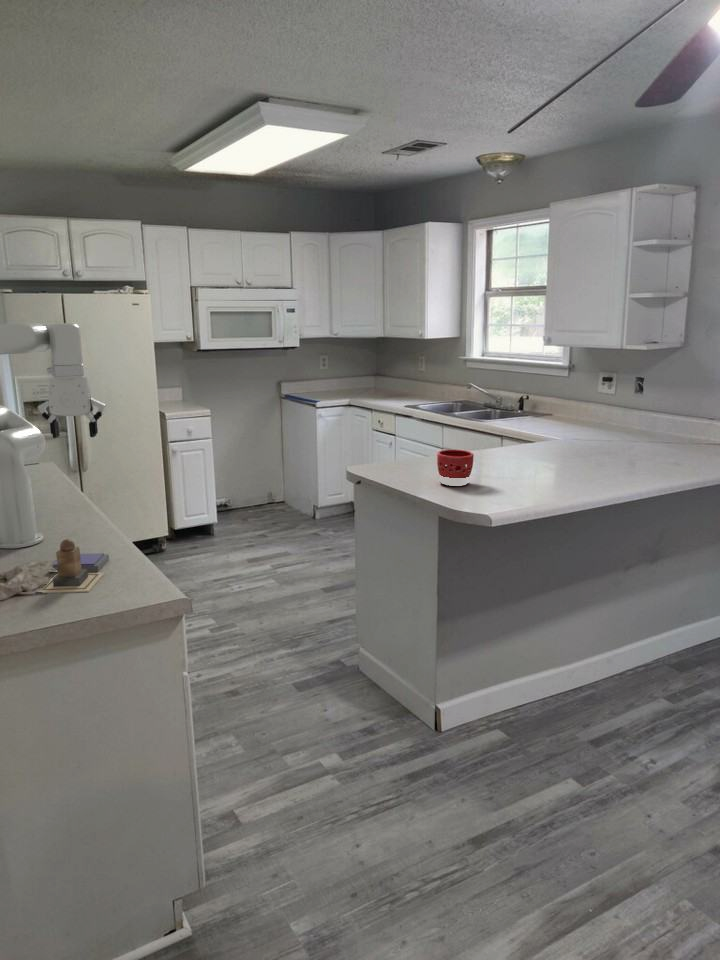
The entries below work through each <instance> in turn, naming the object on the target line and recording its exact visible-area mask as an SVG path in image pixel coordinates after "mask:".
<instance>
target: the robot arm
mask: <svg viewBox="0 0 720 960" xmlns="http://www.w3.org/2000/svg"><path fill="white" fill-rule="evenodd" d="M80 329H81V328H80V327H79V325H78V324H76V323H70V322H67V323H66V322H63V323H61V322H59V323H52V322H51V323H49V322H17V323H15V322H14V323H3V324H0V355H17V354H18V355H19V354H20V355H21V354H22V355H23V354H33V353H47V352H50V358H51V366H50V367H47V369H46V370H47V373H49V374H51V375H52V377H50V378H49V382H48V383H49V384H48V386H49V387H48V388H49V389H48V400H46V401H44V402H43V403H41V404H39V405H38V406H37V410H38V411H39V412H40V413H41V416H42V417H43V418H44V419H45V420H46V421H47V423H49V428H50V434H51V435H52V438H53V439H56V438H58V437H60V434H61V432H60V426H59V421H57V420H58V418H59V417H80V416H81V417H82V416H83V417H84V416H85V417H86V418H87V419H88V420H89V422H88V429H89V430H88V431H89V437H90V438H94V437H96V436H97V434H98V432H99V431H98V421H99V419H100V418H101V417H102V415H103V414H104V411H105V410H106V408H107V405H106V404H105V403H103V402H101V401H99V400H97V399H95V398H93V395H92V390H91V387H90V386H91V385H90V383H89V380H88V376H86V375H85V369H84V359H83V347H82V338H81V330H80ZM94 406H95V407H97V408H98V410H97V412H96V413H94ZM47 408H49V409H48V410H49V412H48V410H47ZM46 444H47V442H46V438H45V435H44V434H43V433H42V431H41V430H40V429H39V428H38V427H36V426H35V425H34V424H32V423H31V422H29V421H28V420H27V419H25V418H24V417H22V416H21V415H19V414H18V413H16V411H14V410H12V409H10V408H9V407H7V406H5V405H2V404H0V549H7V550H9V549H19V548H26V547H30V546H34V545H37V544H39V543H41V542H42V541H43V540H44V535H43V533H40V532H37V524H36V514H35V506H34V498H33V497H34V496H33V489H32V480H31V476H30V473H29V470H28V469H27V467H26V466H25V464H24V462H26V461H29V460H33V459H36V458H38V457H39V456H42V454H43V453H44V452H45V449H46Z"/></svg>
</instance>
